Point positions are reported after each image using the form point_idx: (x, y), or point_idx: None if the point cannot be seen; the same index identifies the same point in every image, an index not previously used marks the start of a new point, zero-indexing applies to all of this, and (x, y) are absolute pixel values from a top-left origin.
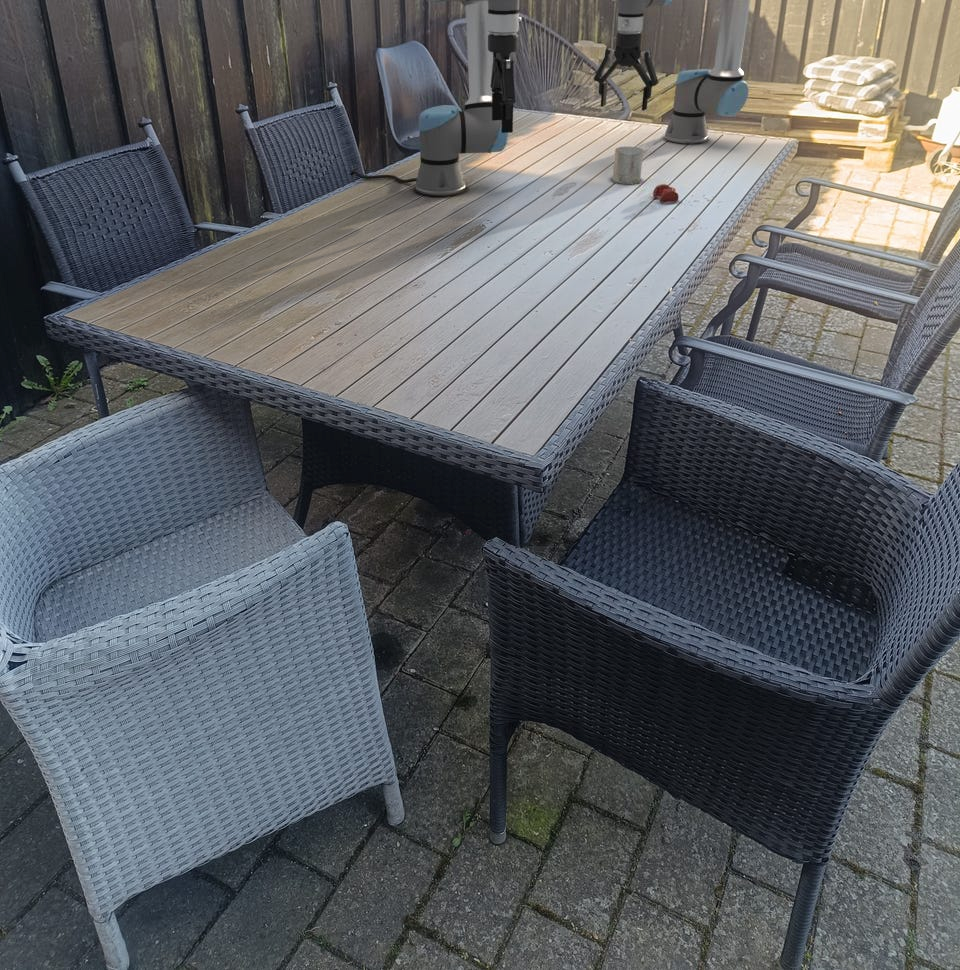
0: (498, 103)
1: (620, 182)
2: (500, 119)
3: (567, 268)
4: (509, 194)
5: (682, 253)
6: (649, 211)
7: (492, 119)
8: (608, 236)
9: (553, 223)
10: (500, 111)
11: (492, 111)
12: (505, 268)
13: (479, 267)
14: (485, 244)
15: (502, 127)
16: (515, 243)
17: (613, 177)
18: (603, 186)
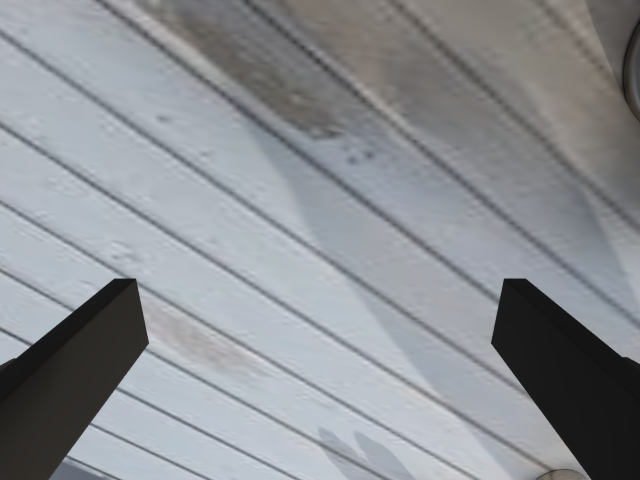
0: (573, 406)
1: (542, 478)
2: (494, 333)
3: (34, 269)
4: (565, 249)
5: (128, 463)
6: (356, 476)
7: (507, 282)
8: (223, 382)
9: (318, 302)
10: (525, 370)
11: (543, 312)
12: (17, 135)
13: (15, 67)
14: (185, 114)
15: (91, 299)
16: (189, 192)
17: (568, 476)
18: (536, 446)
